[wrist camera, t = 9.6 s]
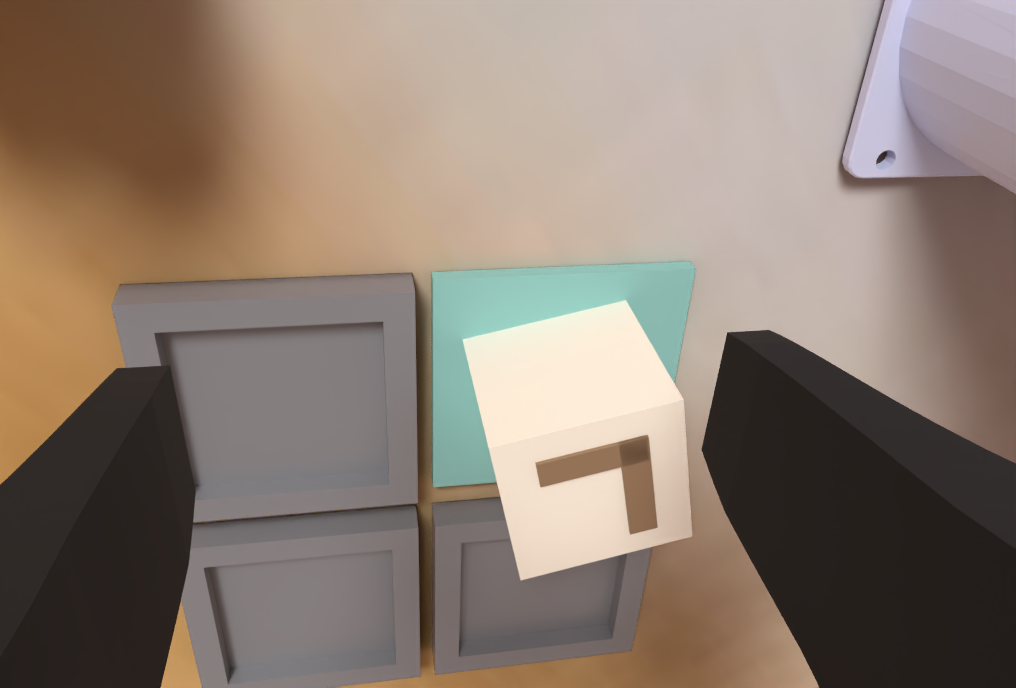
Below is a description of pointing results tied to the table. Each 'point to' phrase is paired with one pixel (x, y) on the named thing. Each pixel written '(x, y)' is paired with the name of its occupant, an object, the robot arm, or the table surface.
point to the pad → (522, 300)
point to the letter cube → (582, 438)
